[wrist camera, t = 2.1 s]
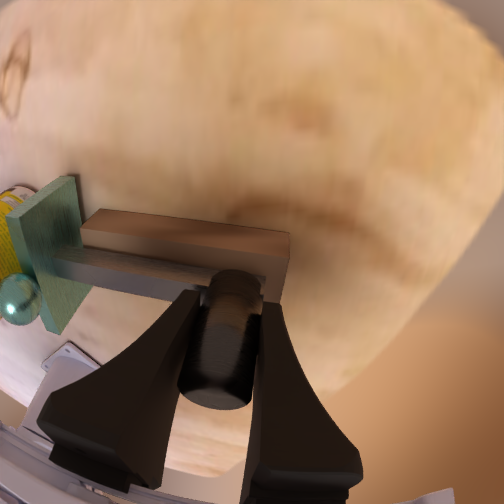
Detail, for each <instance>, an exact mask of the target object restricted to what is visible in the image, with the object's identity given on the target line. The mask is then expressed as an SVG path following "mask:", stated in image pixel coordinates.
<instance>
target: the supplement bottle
mask: <svg viewBox="0 0 504 504" xmlns="http://www.w3.org/2000/svg"><path fill="white" fill-rule="evenodd" d="M34 194H35V192H33V191H32V190H30V189H28V188H25V187H21V186H15V187H11V188H9V189H7V190H6V191H4V192H2V193H1V194H0V282H1V280H2V279H3V278H4V277H5V276H7V275H9V274H11V273H15V272H20V273H22V270H21V267H20V264H19V261H18V259H17V256H16V253H15V249H14V246H13V243H12V240H11V237H10V233H9V230H8V226H7V222H6V219H5V216H6V215H7V214H8V213H9V212H11V211H12V210H13V209H15V208H16V207H17V206H19V205H20V204H21V203H23V202H24V201H25V200H27V199H28V198H29V197H31V196H32V195H34ZM1 318H2V315H1V314H0V319H1Z"/></svg>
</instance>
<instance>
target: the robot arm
mask: <svg viewBox="0 0 504 504" xmlns="http://www.w3.org/2000/svg"><path fill="white" fill-rule="evenodd" d="M199 310H200V291H194V290H188V289H184V290H183V291H182V292H181V293H180V295H179V296H178V297H177V298H176V299H175V301H174V302H173V303H172V304H171V305H170V306H169V308H168V309H167V310H166V311H165V312H164V313H163V314H162V315H161V316H160V317H159V318H158V319H157V320H156V321H155V323H154V324H153V325H152V326H151V327H150V328H148V329H147V330H146V331H145V332H144V333H143V334H142V335H141V336H140V337H139V338H138V339H137V340H136V341H134V342H133V343H132V344H131V345H130V346H129V347H127V348H126V349H125V350H124V351H122V352H121V353H120V354H118V355H117V356H116V357H114V358H113V359H111V360H110V361H109V362H107V363H106V364H104V365H103V366H99V365H98V364H97V363H95V362H94V361H93V360H92V359H90V358H89V357H88V356H86V355H85V354H84V353H83V352H81V351H80V350H79V349H78V348H77V347H75V346H74V345H73V344H71V343H69V342H68V343H66V344H65V345H63V346H62V347H61V348H60V349H59V350H57V351H56V352H55V353H54V354H53V355H51V356H50V357H49V358H48V359H47V360H45V361H44V362H43V363H42V364H41V368H42V369H43V370H45V371H46V372H47V374H46V375H45V377H44V379H43V381H42V383H41V384H40V386H39V388H38V390H37V392H36V394H35V396H34V398H33V399H32V401H31V403H30V405H29V407H28V409H27V412H26V415H25V417H24V419H23V421H22V423H21V425H20V426H19V427H18V428H17V429H16V431H15V428H13V427H12V426H9V427H7V426H6V425H4V424H3V423H2V421H1V420H0V504H118V503H116V502H114V501H112V500H111V499H109V498H108V497H105V496H103V494H102V491H103V492H106V493H108V494H111V495H113V496H116V497H119V498H122V499H125V500H128V501H131V502H134V503H137V504H214V503H208V502H203V501H197V500H192V499H188V498H183V497H178V496H174V495H170V494H166V493H162V492H158V491H154V490H155V489H157V488H159V487H161V484H162V477H163V470H164V464H165V458H166V452H167V447H168V441H169V437H170V432H171V427H172V422H173V418H174V413H175V409H176V405H177V401H178V398H179V394H180V391H179V390H178V387H177V381H178V377H179V374H180V371H181V367H182V364H183V361H184V358H185V354H186V351H187V348H188V345H189V342H190V338H191V335H192V332H193V329H194V326H195V323H196V320H197V316H198V313H199ZM362 479H363V466H362V462H361V458H360V454H359V451H358V449H357V448H356V447H355V446H354V445H353V444H352V443H351V442H350V441H349V440H348V438H347V437H346V436H345V435H344V434H343V433H342V431H341V430H340V429H339V427H338V426H337V425H336V424H335V422H334V421H333V420H332V418H331V417H330V416H329V414H328V412H327V411H326V410H325V408H324V407H323V405H322V404H321V402H320V401H319V399H318V397H317V396H316V394H315V392H314V391H313V389H312V387H311V385H310V384H309V382H308V380H307V378H306V376H305V374H304V372H303V370H302V368H301V365H300V363H299V361H298V359H297V356H296V354H295V351H294V349H293V346H292V343H291V340H290V338H289V335H288V331H287V328H286V325H285V321H284V317H283V312H282V306H281V305H280V303H274V302H267V301H263V306H262V312H261V318H260V327H259V338H258V349H257V357H256V366H255V374H254V383H253V412H252V421H251V429H250V436H249V444H248V451H247V458H246V464H245V471H244V478H243V484H242V490H241V497H240V502H239V504H346V499H348V497H349V489H350V488H351V487H353V486H355V485H356V484H358V483H359V482H360V481H361V480H362ZM395 504H455V500H454V492H453V488H448V489H444V490H440V491H436V492H432V493H429V494H425V495H423V496H420V497H418V498H416V499H415V500H411V501H406V502H400V503H395Z"/></svg>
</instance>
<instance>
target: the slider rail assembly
mask: <svg viewBox="0 0 504 504" xmlns="http://www.w3.org/2000/svg"><path fill="white" fill-rule="evenodd" d="M5 219H6V222H7V226H8V230H9V233H10V237H11V240H12V243H13V246H14V249H15V253H16V256H17V259H18V261H19V264H20V267H21V270H22V273H20V272H15V273H11V274H9V275H7V276H5V277H4V278H3V279H2V280H1V282H0V314H1V315H2V317H3V318H4V319H5V320H6V321H8V322H9V323H11V324H14V325H18V326H23V325H27V324H29V323H31V322H33V321H34V320H35V319H36V318H37V316H38V315H40V317H41V319H42V321H43V323H44V325H45V328H46V330H47V331H50V332H53V333H55V334H58V335H61V333H62V332H63V330H64V328H65V327H66V325H67V324H68V322H69V321H70V319H71V318H72V316H73V315H74V313H75V312H76V310H77V309H78V307H79V306H80V304H81V303H82V301H83V300H84V298H85V297H86V296H87V294H88V293H89V291H90V290H91V288H92V287H93V286H98V287H102V288H107V289H112V290H116V291H121V292H126V293H131V294H136V295H141V296H146V297H151V298H156V299H161V300H167V301H172V302H174V301H175V299H176V298H177V297H178V296H179V295H180V293H181V292H182V291H183V290H184V289H188V290H194V291H200V306H201V307H200V310H199V313H198V316H197V320H196V323H195V326H194V329H193V332H192V335H191V338H190V342H189V345H188V348H187V351H186V354H185V358H184V361H183V364H182V367H181V371H180V374H179V377H178V381H177V387H178V390H179V391H180V393H181V394H182V395H183V396H184V397H186V398H187V399H188V400H190V401H192V402H194V403H196V404H198V405H201V406H204V407H207V408H211V409H217V410H233V409H239V408H242V407H244V406H246V405H247V404H248V403H250V401H251V399H252V391H253V383H254V374H255V366H256V357H257V349H258V338H259V327H260V318H261V312H262V304H263V299H264V292H265V282H266V276H261V275H254V274H250V273H248V272H245V271H242V270H238V269H227V270H219V269H213V268H206V267H199V266H193V265H186V264H180V263H174V262H167V261H161V260H155V259H148V258H142V257H136V256H130V255H124V254H118V253H112V252H106V251H100V250H94V249H89V248H83V243H82V238H81V233H80V227H81V226H82V222H81V216H80V210H79V204H78V197H77V190H76V183H75V177H71V176H60V177H59V178H57V179H55V180H54V181H52V182H51V183H50V184H48V185H47V186H45V187H44V188H42V189H41V190H39V191H38V192H36V193H35V194H34V195H32V196H31V197H29V198H28V199H27V200H25V201H24V202H23V203H21V204H20V205H19V206H17V207H16V208H15V209H13V210H12V211H11V212H9V213H8V214H7V215H6V216H5Z"/></svg>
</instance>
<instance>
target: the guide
mask: <svg viewBox="0 0 504 504" xmlns="http://www.w3.org/2000/svg"><path fill="white" fill-rule="evenodd" d="M80 233H81V238H82V243H83V248H89V249H94V250H100V251H106V252H112V253H118V254H124V255H130V256H136V257H142V258H148V259H155V260H161V261H167V262H174V263H180V264H186V265H193V266H199V267H206V268H213V269H219V270H227V269H238V270H242V271H245V272H248V273H250V274H254V275H261V276H266V282H265V292H264V299H263V301H267V302H274V303H280V300H281V295H282V290H283V286H284V281H285V277H286V272H287V267H288V262H289V233H285V232H278V231H271V230H264V229H257V228H250V227H243V226H235V225H228V224H220V223H213V222H205V221H198V220H190V219H182V218H174V217H166V216H157V215H149V214H141V213H132V212H123V211H115V210H105V209H99V210H98V211H97V212H96V213H95V214H94V215H93V216H92V217H90V218H89V219H88V220H87V221H86V222H85V223H84V224H83V225H82V226H81V227H80ZM262 306H263V304H262Z"/></svg>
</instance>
